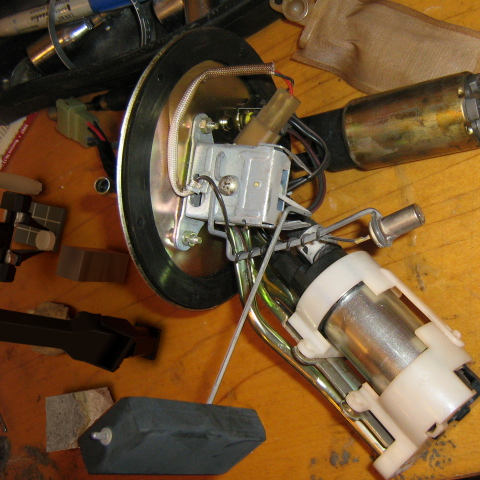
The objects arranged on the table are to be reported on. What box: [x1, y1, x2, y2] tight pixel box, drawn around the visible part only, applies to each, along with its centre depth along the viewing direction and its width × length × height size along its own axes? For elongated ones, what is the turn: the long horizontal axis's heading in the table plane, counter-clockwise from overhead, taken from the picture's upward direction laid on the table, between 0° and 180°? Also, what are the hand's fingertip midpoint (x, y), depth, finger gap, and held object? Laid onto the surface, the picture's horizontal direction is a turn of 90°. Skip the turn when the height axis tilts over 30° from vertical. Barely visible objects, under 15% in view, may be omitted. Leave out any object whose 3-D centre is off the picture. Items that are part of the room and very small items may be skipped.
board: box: [13, 201, 68, 253], centre depth 107 cm, size 14×10×1 cm
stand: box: [55, 244, 131, 284], centre depth 93 cm, size 6×6×12 cm
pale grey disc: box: [36, 230, 55, 252], centre depth 104 cm, size 5×5×1 cm
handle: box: [0, 171, 43, 195], centre depth 103 cm, size 5×6×15 cm
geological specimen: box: [44, 386, 115, 453], centre depth 94 cm, size 11×6×15 cm
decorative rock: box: [25, 301, 72, 357], centre depth 101 cm, size 11×4×15 cm
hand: (45, 240), depth 104 cm, fingers closed on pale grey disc, 4 cm apart
